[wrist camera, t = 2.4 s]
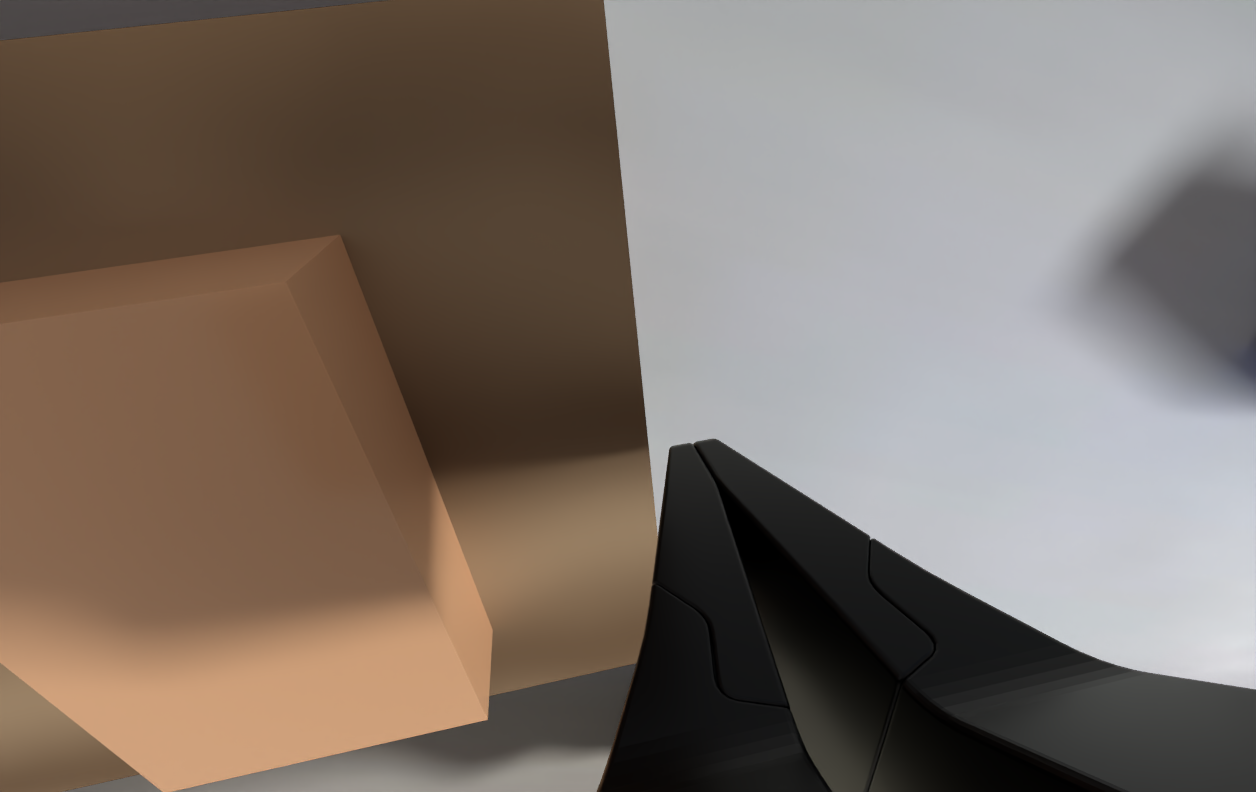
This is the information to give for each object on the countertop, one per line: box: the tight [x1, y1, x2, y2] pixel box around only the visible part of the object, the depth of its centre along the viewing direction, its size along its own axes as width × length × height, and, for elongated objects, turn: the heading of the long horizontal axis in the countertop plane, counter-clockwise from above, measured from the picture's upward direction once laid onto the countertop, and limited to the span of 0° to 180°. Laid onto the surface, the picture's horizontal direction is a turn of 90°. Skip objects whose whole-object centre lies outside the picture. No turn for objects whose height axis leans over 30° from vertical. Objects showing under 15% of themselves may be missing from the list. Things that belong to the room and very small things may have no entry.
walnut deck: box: [0, 0, 658, 792], centre depth 11 cm, size 14×22×4 cm, turn 96°
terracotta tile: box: [0, 235, 493, 792], centre depth 9 cm, size 9×6×2 cm, turn 6°
